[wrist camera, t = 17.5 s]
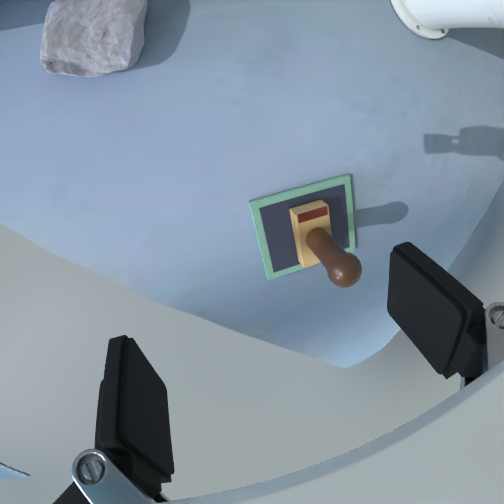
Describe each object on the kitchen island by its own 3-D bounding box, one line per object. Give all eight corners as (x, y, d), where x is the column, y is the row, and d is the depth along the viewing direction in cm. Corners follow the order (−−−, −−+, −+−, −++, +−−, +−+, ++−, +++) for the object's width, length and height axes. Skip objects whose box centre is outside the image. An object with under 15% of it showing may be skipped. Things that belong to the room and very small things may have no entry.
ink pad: (347, 173, 40) (350, 175, 39) (353, 248, 46) (355, 250, 45) (248, 201, 38) (249, 203, 38) (266, 278, 44) (268, 280, 44)
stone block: (143, 71, 29) (152, -8, 23) (136, 76, 26) (146, -15, 20) (52, 78, 27) (56, 3, 20) (34, 86, 23) (38, 1, 17)
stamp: (326, 249, 44) (370, 300, 33) (297, 259, 43) (335, 314, 33) (320, 198, 40) (370, 239, 29) (288, 207, 39) (330, 253, 29)
